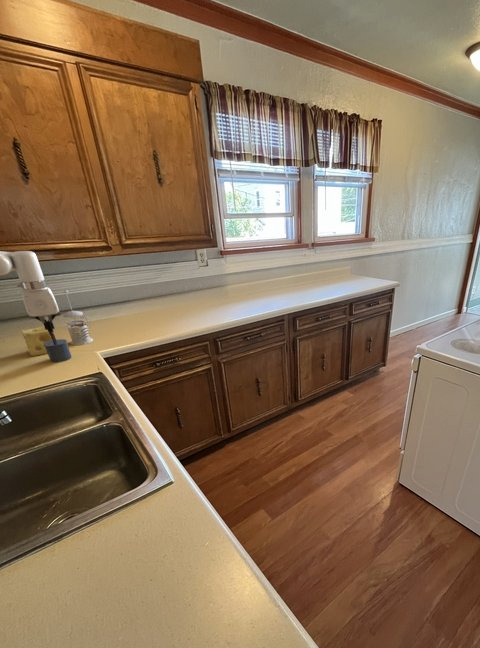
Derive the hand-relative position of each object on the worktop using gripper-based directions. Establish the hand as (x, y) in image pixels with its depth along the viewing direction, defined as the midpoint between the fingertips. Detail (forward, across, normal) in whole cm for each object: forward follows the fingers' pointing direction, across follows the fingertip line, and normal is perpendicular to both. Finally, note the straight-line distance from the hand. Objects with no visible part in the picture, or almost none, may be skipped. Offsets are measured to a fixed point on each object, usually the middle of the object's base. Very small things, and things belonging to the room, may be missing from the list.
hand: (50, 330), depth 135 cm
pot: (+13, 0, 0) cm, 13 cm away
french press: (+13, +9, +23) cm, 28 cm away
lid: (+6, 0, 0) cm, 6 cm away
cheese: (+13, -7, +17) cm, 23 cm away
